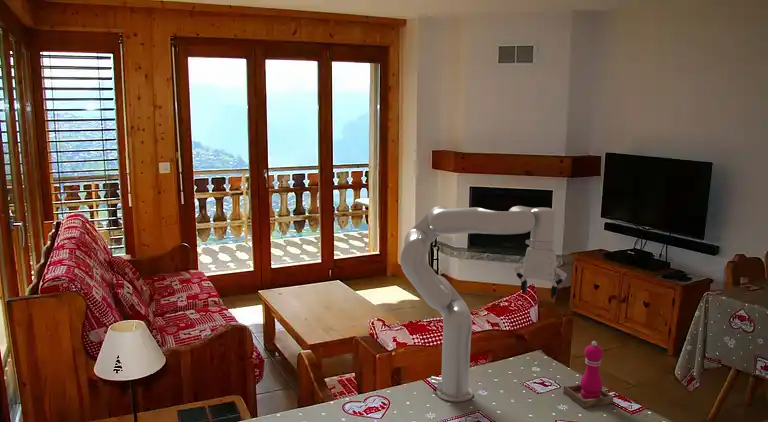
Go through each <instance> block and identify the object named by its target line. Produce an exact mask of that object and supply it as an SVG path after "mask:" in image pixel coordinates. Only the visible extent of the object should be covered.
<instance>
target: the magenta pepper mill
mask: <svg viewBox="0 0 768 422" xmlns="http://www.w3.org/2000/svg"><path fill="white" fill-rule="evenodd" d="M583 354H584V357H585V359H584V360H585V362H584V363H585V364H586V368H585V371H584V373H583V375H582V376H581V379H580V383H579V384H580V386H581V388H582V390H581V396H582V398H584V399H594V398H600V391H601V390H603V381H602V378H601V376H600V371H599V368H600V366H601V364H602V360H601V359H603V357H604V351H603V349H602V348H601V347H600V346H599V345H598V342H597V341H595V340H593V341H591V344H589V345H588V346H586V347H584V353H583Z"/></svg>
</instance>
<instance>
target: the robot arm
mask: <svg viewBox="0 0 768 422" xmlns="http://www.w3.org/2000/svg"><path fill="white" fill-rule="evenodd" d="M555 224H556V211H555V209H553V208H551V207H543V206H542V207H531V206H530V207H529V206H524V205H516V206H512V207H511V208H510V209H508V211H505V210H504V211H500V210H499V211H497V210H491V209H486V208H482V207H477V206H476V207H459V208H458V207H457V208H456V207H455V208H448V207H445V206H442V205H437V206H434V207H433V208H431V209H430V210H429V211H428V212H427V213H426V214H425V215H424V216H423V217H422V218H421V219H420V220H419V221H418V222H416V224H414V226H413V227H411V229H409V231H407V233H406V235H405V237H404V245H403V248H402V249H401V250H402V251H401V254H400V267H401V270H402V272H403V273H404V275H405V276H406V278H407V279H408V281H409V282H410V283H411V284H412V285H413V287H414V289H415V290H416V291H417V292H418V293H419V294H420V296H421V297H422V298H423V300H424V301H425V302H426V304H427V305H428V306H429V307H431V308H432V309H434V310H437V311H438V313H440V315H441V317H442V323H443V325H442V326H443V327H442V342H441V343H442V345H441V346H442V348H441V376H440V377H437V376H433V375H432V376H431V377H430V383H431V385H434V386H437V388H436V395H437V396H438V398H440V399H442V400H445V401H447V402H448V401H449V402H455V403H457V402H458V403H461V402H466V401H469V400H470V399H472V397H473V396H474V392H473V391H474V390H473V389H472V388H471V386H469V385H470V364H471V362H470V361H471V358H470V357H471V340H472V332H473V318H472V314H471V311H470V309H469V307H468V305H467V302H466V301H465V299H463V297H461V295H460V294H459V293H458V292H457V290H456V289H455V288H454V287H453V286H452V284H451V283H450V282H449V281H448V280H447V278H445V277H444V276H442V275H439V274H437V273H436V272H435V271H434V268H432V267H431V266H430V264H429V263H428V262H427V255H428V254H429V251H430V246H431V243H433V242H434V241H435V240H436V239H437V238H438V237H439V236H440V235H461V234H464V235H465V234H485V235H487V234H488V235H519V234H526V233H528V232H530V238H529V239H526V240H525V244H527V245H528V246H529V247H526V251H525V256H524V261H523V263H522V264H519V265H516V266H515V267H514V272H515V274H516V277H517V278H518V280H519V282H521V283H520V291H521V292H522V294H526V293H527V291H528V289H527V288H528V280H527V279H531V280H532V279H533V280H539V281H546V282H550V283H551V284H552V286H551V292H550V294H551V295H550V299H554V298H555V297H556V296H557V295H558V286H559V285H561V284H562V283H563V282H564V281H565V279H566V277H567V276H568V275H567V273H566V272H565V271H563V270H562V269H560V268H558V267H557V255H556V249H554V242H555ZM522 269H523V272H521V270H522ZM557 275H559V276H560V277H559V279H557V278H556V276H557Z"/></svg>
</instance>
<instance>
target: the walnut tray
mask: <svg viewBox="0 0 768 422" xmlns="http://www.w3.org/2000/svg"><path fill="white" fill-rule="evenodd" d="M581 390H582V388H581V386H580V383H579V384H578V383H577V384H569V385H564V386H563V395H565V396H567V397H568V398H569V399H570V400H572V401H573V402H574V403H576V404H577V405H578V406H579V407H581V408H582V409H588V408H595V407H603V406H611V405H614V396H613V395H611V394H610V393H609V392H607V391H605V390H604V389H602V390H601V391H600V398H594V399H584V398H582V396H581Z"/></svg>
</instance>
